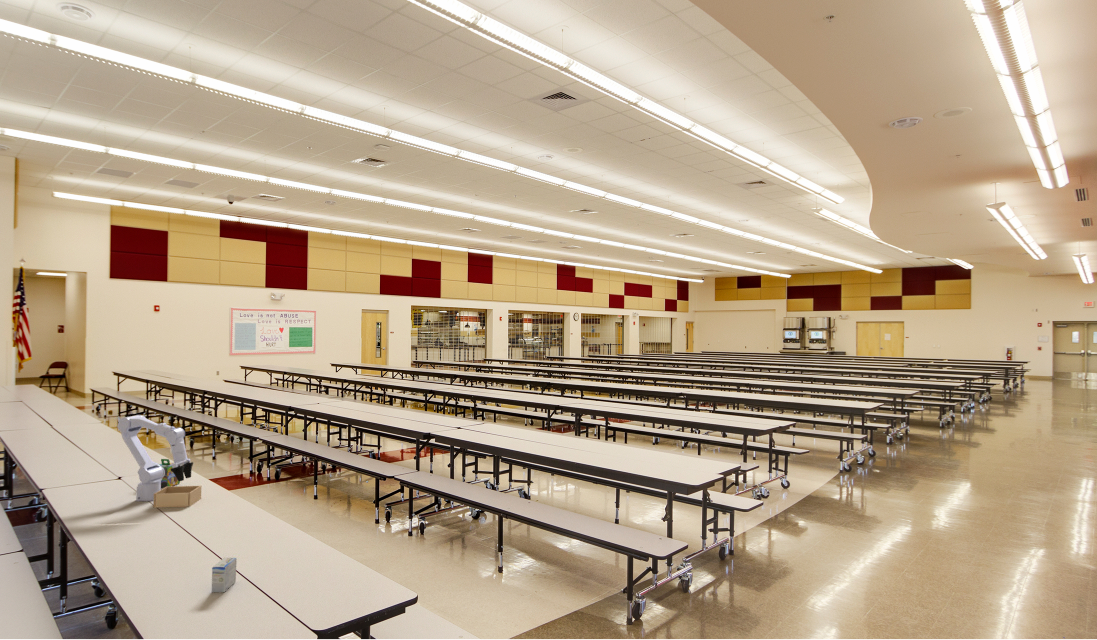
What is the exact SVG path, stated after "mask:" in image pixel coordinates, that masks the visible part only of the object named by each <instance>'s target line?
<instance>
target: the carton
mask: <svg viewBox="0 0 1097 640" xmlns="http://www.w3.org/2000/svg"><path fill="white" fill-rule="evenodd" d="M164 493H189V504H188V507H192V506H193V505H195V504H196V503H197V502H198V501H201V500H202V485H179V486H177V485H174V486H171V487H165V488H161V490H160V491H158V492H156V493H155V494H154V501H153V509H155V508H156V494H164ZM159 508H162V507H159Z"/></svg>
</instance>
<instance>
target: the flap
mask: <svg viewBox="0 0 1097 640" xmlns="http://www.w3.org/2000/svg"><path fill="white" fill-rule="evenodd" d="M188 504H189V493H164V494H156V507H155V508H160V507H161V508H185V507H188Z"/></svg>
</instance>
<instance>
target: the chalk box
mask: <svg viewBox="0 0 1097 640" xmlns="http://www.w3.org/2000/svg"><path fill="white" fill-rule="evenodd" d="M160 461H161V463H158V464H159V465H160V466H161V467H162V468H163V469H164V470H165V475H164V477H163V478H162V480H161V489H163V488H165V487H171V486H177V485H179V484H180V483H181V481H178V479H177V478H176V476H175V474H174V473H173V472H172V471H171V469H172V464H173V463H174V462H170V459H169V458H161V459H160ZM179 465H180V464H179Z"/></svg>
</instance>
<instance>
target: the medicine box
mask: <svg viewBox="0 0 1097 640" xmlns="http://www.w3.org/2000/svg"><path fill="white" fill-rule="evenodd" d="M211 568H212V569H211V593H212V592H224V593H225V591H226V590H227V591H228V590H229V589H230V588H231V587H232V586H233V584H235V583H236V581H237V557H223V558H222V559H220V560H219V561H218V562H217V563H216V564H215V565H214V566H213V567H211ZM228 588H229V589H228ZM227 591H226V592H227Z"/></svg>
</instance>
